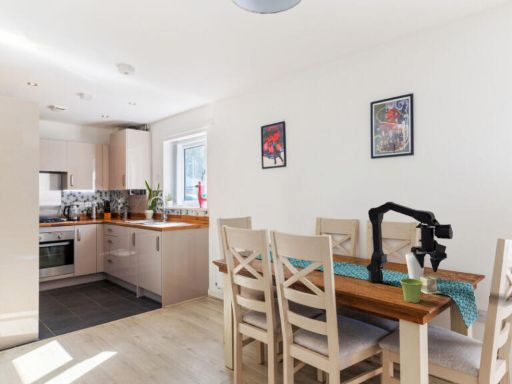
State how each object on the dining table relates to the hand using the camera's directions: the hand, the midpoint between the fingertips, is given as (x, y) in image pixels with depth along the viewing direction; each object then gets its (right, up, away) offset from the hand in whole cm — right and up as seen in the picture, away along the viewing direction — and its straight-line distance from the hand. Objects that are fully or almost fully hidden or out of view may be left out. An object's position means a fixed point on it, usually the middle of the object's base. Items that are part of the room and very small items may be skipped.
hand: (428, 270), depth 158 cm
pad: (0, -10, 0) cm, 10 cm away
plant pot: (-14, -11, -13) cm, 22 cm away
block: (0, -10, 0) cm, 10 cm away
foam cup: (+4, -10, +21) cm, 24 cm away
